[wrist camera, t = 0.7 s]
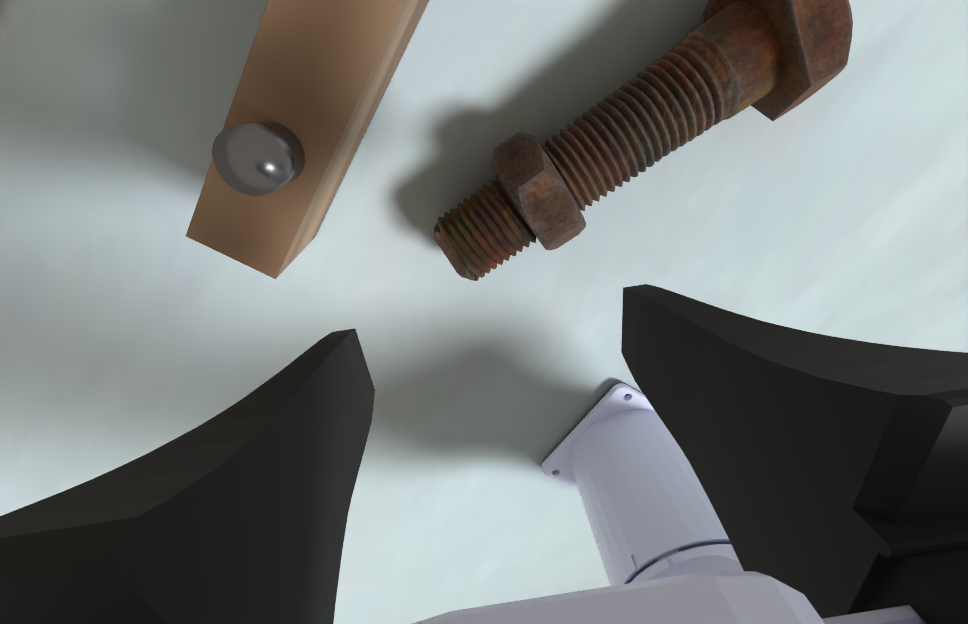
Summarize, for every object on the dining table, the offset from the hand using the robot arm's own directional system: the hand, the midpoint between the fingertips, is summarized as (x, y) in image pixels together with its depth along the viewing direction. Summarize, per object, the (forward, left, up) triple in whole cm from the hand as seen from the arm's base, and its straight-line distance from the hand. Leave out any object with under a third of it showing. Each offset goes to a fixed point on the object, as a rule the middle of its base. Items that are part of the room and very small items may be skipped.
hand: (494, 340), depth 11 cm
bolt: (-2, -6, -10) cm, 12 cm away
